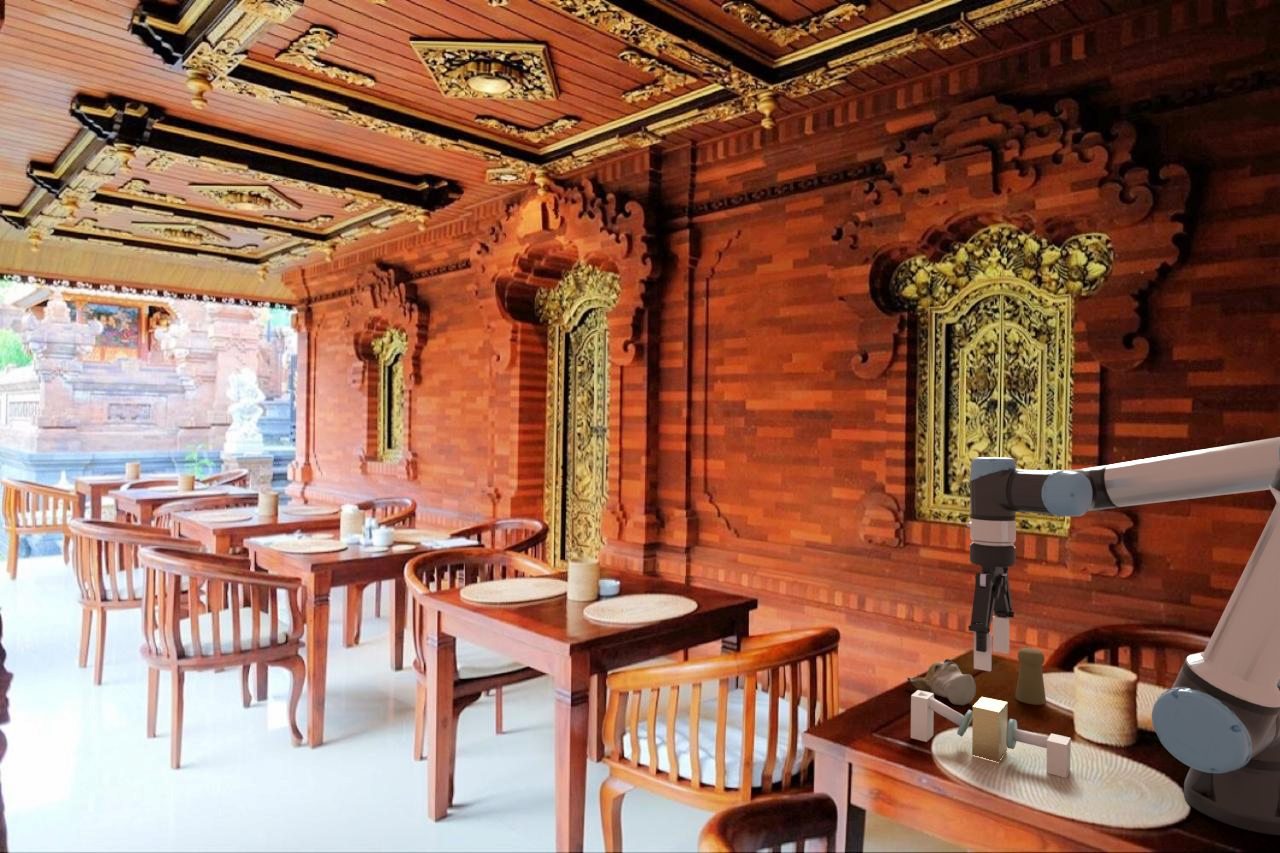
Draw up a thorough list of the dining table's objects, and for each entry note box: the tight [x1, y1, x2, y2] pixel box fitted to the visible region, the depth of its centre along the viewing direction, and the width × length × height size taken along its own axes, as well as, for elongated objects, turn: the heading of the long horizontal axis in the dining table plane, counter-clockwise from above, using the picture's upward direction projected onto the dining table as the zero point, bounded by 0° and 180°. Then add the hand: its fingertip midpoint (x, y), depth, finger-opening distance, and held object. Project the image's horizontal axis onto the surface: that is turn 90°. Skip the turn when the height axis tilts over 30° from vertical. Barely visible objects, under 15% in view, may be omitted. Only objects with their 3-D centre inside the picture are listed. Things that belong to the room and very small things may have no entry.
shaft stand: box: [910, 689, 1072, 779], centre depth 138 cm, size 26×5×8 cm, turn 52°
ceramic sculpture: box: [906, 658, 977, 706], centre depth 167 cm, size 11×9×15 cm
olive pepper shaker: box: [1014, 647, 1047, 706], centre depth 166 cm, size 6×6×11 cm
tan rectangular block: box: [971, 696, 1009, 763], centre depth 137 cm, size 4×6×9 cm
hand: (992, 660), depth 137 cm, fingers open, 13 cm apart
